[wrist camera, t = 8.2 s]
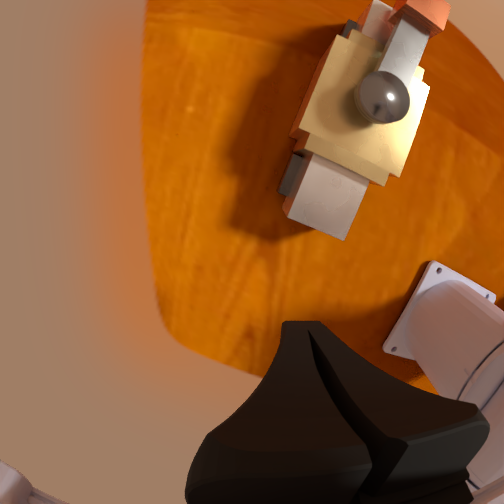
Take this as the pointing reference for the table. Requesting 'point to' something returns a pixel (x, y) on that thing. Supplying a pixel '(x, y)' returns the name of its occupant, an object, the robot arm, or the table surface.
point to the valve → (346, 131)
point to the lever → (399, 60)
